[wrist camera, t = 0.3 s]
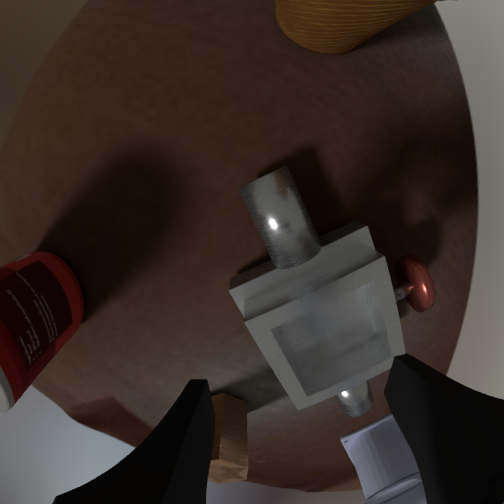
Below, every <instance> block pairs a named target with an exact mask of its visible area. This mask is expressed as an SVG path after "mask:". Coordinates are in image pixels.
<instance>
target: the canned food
mask: <svg viewBox="0 0 504 504" xmlns="http://www.w3.org/2000/svg"><path fill="white" fill-rule="evenodd" d="M83 313H84V301H83V294H82V291H81V287H80V285H79V283H78V280H77V278H76V276H75V275H74V273H73V271H72V270H71V269H70V267H69V266H68V265H67V264H66V263H65V262H64V261H63V260H62V259H61V258H60V257H58V256H57V255H55V254H53V253H50V252H42V251H36V252H32V253H29V254H27V255H25V256H23V257H21V258H19V259H17V260H14V261H12V262H10V263H8V264H6V265H4V266H2V267H0V411H1V412H4V413H5V412H8V411H9V409H10V408H12V407H13V406H14V404H15V403H16V402H17V401H18V399H19V398H20V397H21V396H22V395H23V393H24V392H25V391H26V390H27V388H28V387H29V386H30V385H31V383H32V382H33V381H34V380H35V378H36V377H37V376H38V375H39V374H40V372H41V371H42V370H43V369H44V368H45V366H46V365H47V364H48V363H49V362H50V361H51V359H52V358H53V357H54V356H55V355H56V354H57V352H58V351H59V350H60V349H61V348H62V347H63V346H64V345H65V343H66V342H67V341H68V340H69V339H70V338H71V337H72V336H73V335H74V333H75V332H76V331H77V330H78V328H79V325H80V323H81V320H82V318H83Z"/></svg>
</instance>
